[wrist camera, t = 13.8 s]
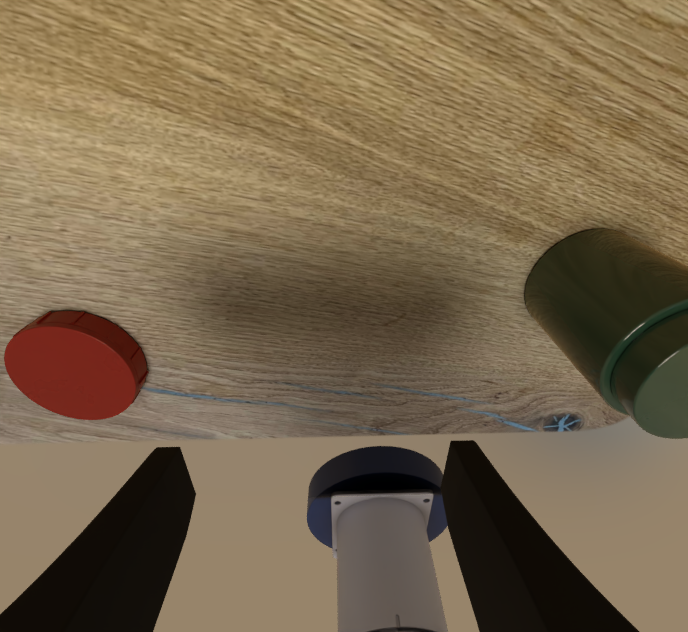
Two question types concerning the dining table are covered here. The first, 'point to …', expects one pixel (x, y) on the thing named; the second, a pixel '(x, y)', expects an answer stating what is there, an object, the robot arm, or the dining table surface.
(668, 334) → the jam jar
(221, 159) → the dining table surface
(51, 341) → the jar lid
